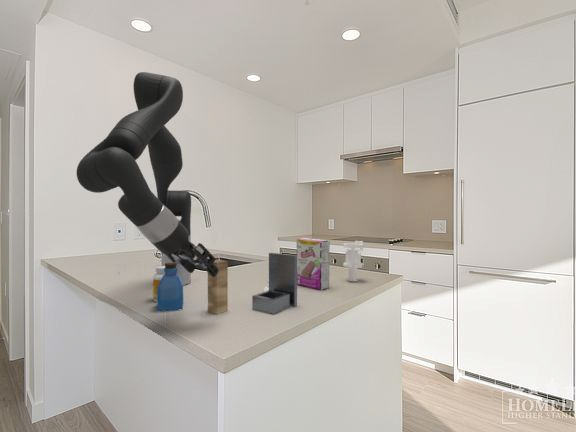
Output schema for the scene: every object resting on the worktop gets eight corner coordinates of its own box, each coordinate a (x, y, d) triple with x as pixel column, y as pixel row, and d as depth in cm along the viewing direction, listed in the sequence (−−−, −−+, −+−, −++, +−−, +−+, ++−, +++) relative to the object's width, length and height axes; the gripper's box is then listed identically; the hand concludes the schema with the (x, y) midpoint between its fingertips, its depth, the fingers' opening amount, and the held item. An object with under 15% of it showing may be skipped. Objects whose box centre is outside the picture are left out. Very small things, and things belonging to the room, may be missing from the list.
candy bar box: (295, 285, 112) (295, 238, 111) (304, 282, 115) (305, 237, 115) (321, 290, 104) (321, 240, 103) (330, 288, 107) (330, 239, 107)
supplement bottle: (165, 302, 90) (165, 268, 90) (149, 301, 92) (149, 268, 91) (176, 297, 96) (176, 265, 95) (160, 296, 97) (160, 264, 97)
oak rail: (207, 311, 83) (207, 261, 82) (218, 308, 86) (218, 259, 85) (217, 314, 81) (217, 263, 80) (227, 310, 84) (227, 261, 83)
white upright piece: (362, 283, 114) (362, 242, 113) (342, 282, 115) (342, 241, 115) (362, 279, 121) (362, 240, 120) (343, 278, 122) (344, 239, 122)
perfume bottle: (157, 311, 83) (157, 265, 82) (160, 304, 89) (159, 262, 88) (182, 309, 84) (182, 264, 84) (183, 303, 90) (183, 261, 90)
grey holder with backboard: (249, 308, 85) (249, 256, 85) (271, 300, 93) (271, 252, 93) (276, 314, 80) (276, 259, 80) (297, 305, 88) (297, 255, 88)
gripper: (193, 216, 68) (232, 262, 77) (155, 215, 76) (194, 257, 86) (171, 243, 64) (215, 288, 73) (133, 239, 72) (177, 280, 81)
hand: (204, 271), depth 79 cm, fingers open, 8 cm apart
